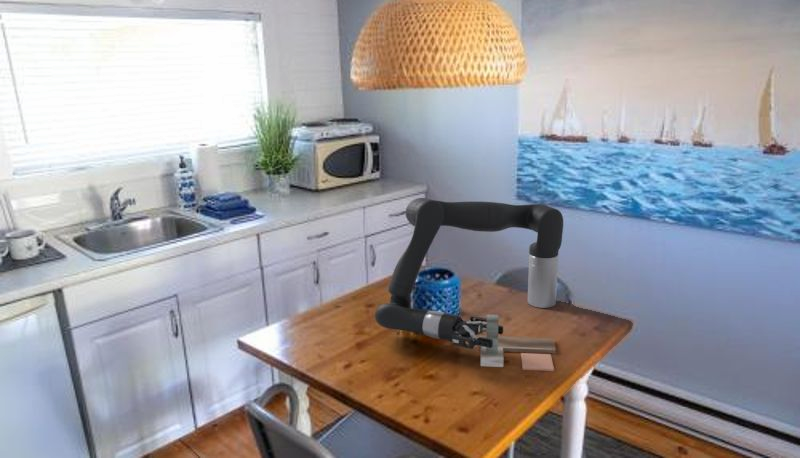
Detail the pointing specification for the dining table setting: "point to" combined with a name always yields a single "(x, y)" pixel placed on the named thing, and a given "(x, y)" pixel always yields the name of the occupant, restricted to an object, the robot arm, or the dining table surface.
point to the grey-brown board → (525, 344)
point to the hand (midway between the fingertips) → (497, 336)
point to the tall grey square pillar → (493, 354)
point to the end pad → (537, 362)
